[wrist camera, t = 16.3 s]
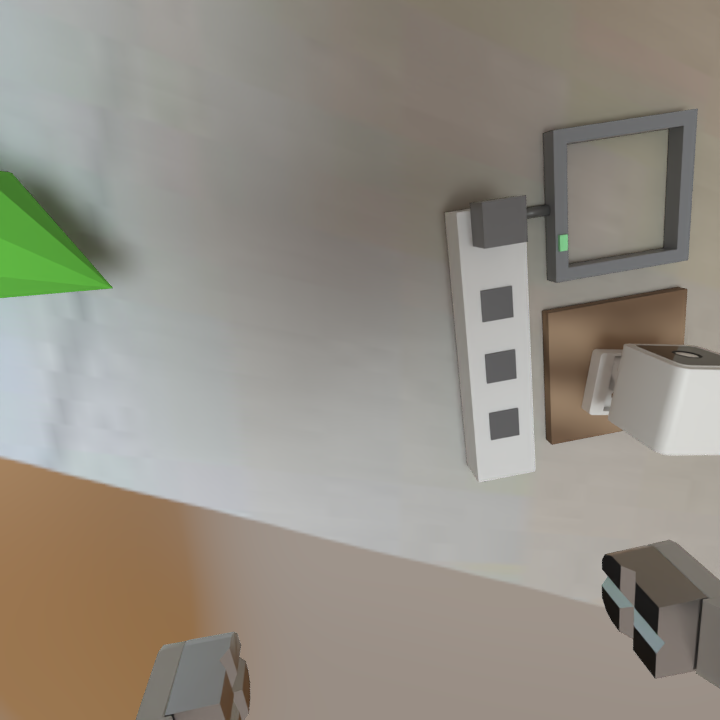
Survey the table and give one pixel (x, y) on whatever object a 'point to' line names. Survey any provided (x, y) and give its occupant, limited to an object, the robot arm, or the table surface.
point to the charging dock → (676, 194)
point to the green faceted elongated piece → (37, 249)
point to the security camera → (659, 395)
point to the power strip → (493, 333)
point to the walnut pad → (599, 331)
